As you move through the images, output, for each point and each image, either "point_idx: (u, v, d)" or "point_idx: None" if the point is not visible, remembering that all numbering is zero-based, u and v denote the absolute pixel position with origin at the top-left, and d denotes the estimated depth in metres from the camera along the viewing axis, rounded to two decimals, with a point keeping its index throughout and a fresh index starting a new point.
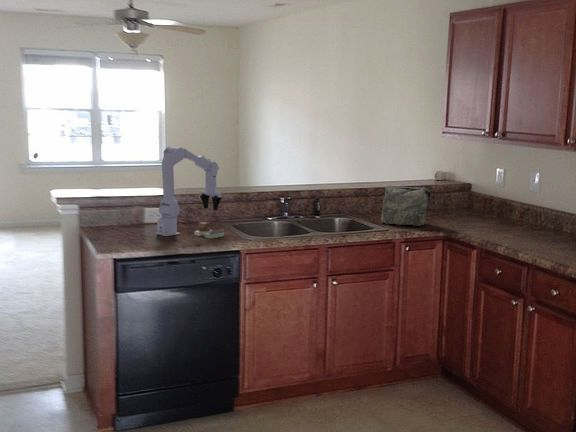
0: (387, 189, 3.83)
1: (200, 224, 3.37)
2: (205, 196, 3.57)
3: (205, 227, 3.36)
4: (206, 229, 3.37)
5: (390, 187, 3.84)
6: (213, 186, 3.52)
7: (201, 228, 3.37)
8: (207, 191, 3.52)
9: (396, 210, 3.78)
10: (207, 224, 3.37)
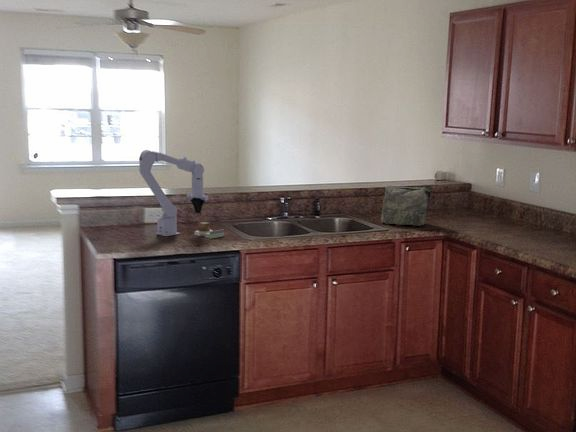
0: (387, 189, 3.83)
1: (200, 224, 3.37)
2: None
3: (205, 227, 3.36)
4: (206, 229, 3.37)
5: (390, 187, 3.84)
6: (200, 189, 3.37)
7: (201, 228, 3.37)
8: (194, 194, 3.37)
9: (396, 210, 3.78)
10: (207, 224, 3.37)
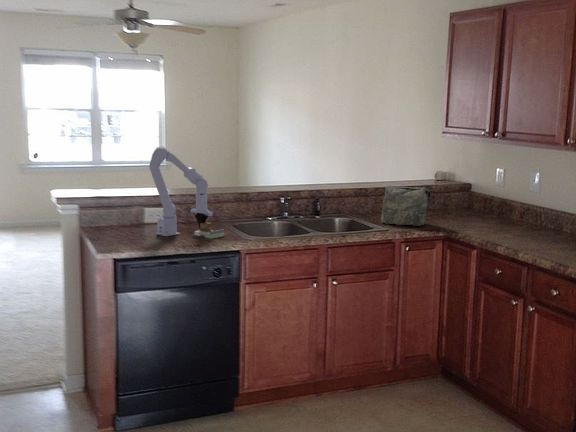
0: (387, 189, 3.83)
1: (201, 224, 3.36)
2: None
3: (206, 228, 3.35)
4: (208, 229, 3.36)
5: (390, 187, 3.84)
6: (204, 204, 3.35)
7: (203, 228, 3.36)
8: (198, 209, 3.36)
9: (396, 210, 3.78)
10: (209, 224, 3.36)
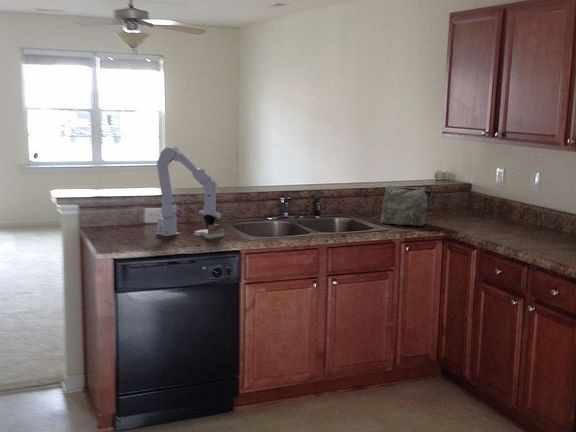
0: (387, 189, 3.83)
1: (209, 226, 3.32)
2: None
3: (214, 229, 3.31)
4: None
5: (390, 187, 3.84)
6: (212, 206, 3.31)
7: (211, 230, 3.32)
8: (206, 211, 3.32)
9: (396, 210, 3.78)
10: (217, 226, 3.32)
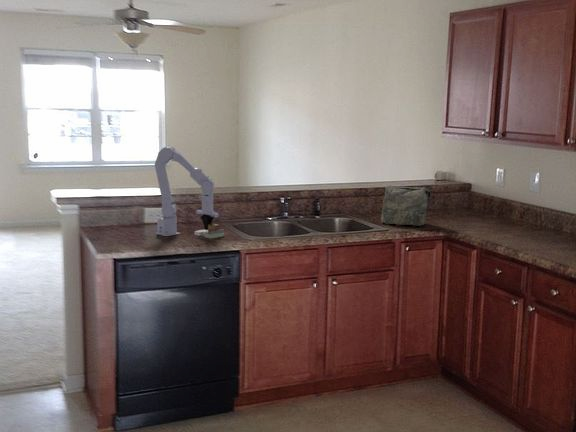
0: (387, 189, 3.83)
1: (209, 226, 3.32)
2: None
3: (214, 229, 3.31)
4: None
5: (390, 187, 3.84)
6: (210, 206, 3.32)
7: (211, 230, 3.32)
8: (203, 211, 3.33)
9: (396, 210, 3.78)
10: (217, 226, 3.32)
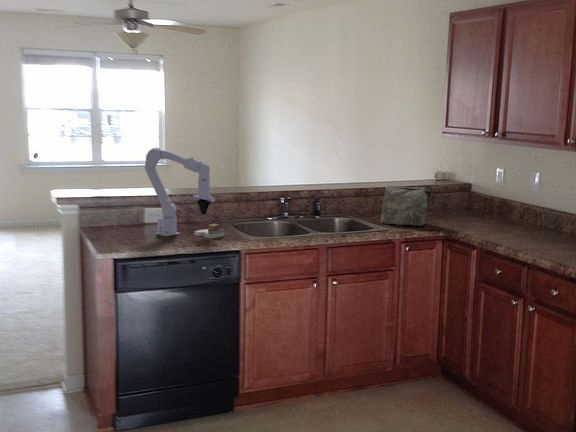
0: (387, 189, 3.83)
1: (209, 226, 3.32)
2: None
3: (214, 229, 3.31)
4: None
5: (390, 187, 3.84)
6: (206, 190, 3.33)
7: (211, 230, 3.32)
8: (200, 195, 3.33)
9: (396, 210, 3.78)
10: (217, 226, 3.32)
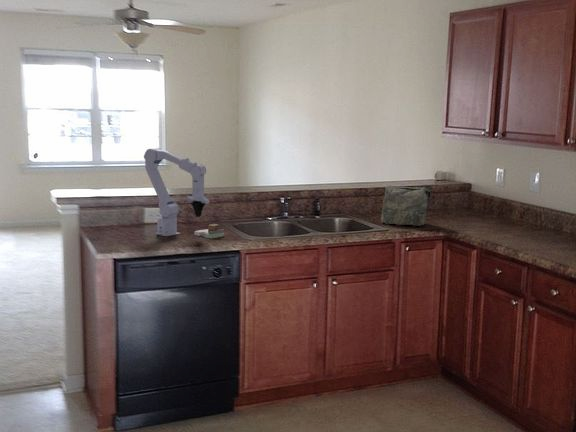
0: (387, 189, 3.83)
1: (209, 226, 3.32)
2: None
3: (214, 229, 3.31)
4: None
5: (390, 187, 3.84)
6: (200, 192, 3.26)
7: (211, 230, 3.32)
8: (194, 197, 3.26)
9: (396, 210, 3.78)
10: (217, 226, 3.32)
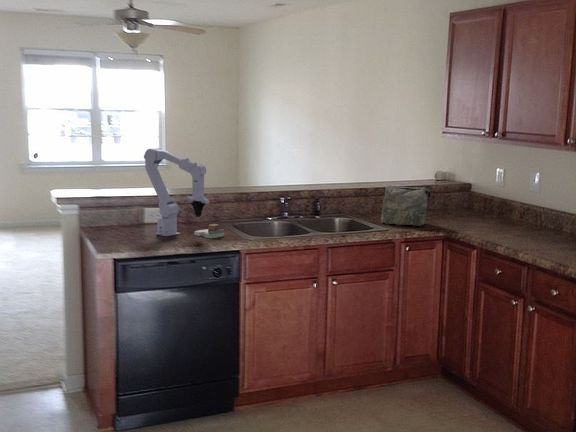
0: (387, 189, 3.83)
1: (209, 226, 3.32)
2: None
3: (214, 229, 3.31)
4: None
5: (390, 187, 3.84)
6: (200, 192, 3.26)
7: (211, 230, 3.32)
8: (194, 197, 3.26)
9: (396, 210, 3.78)
10: (217, 226, 3.32)
